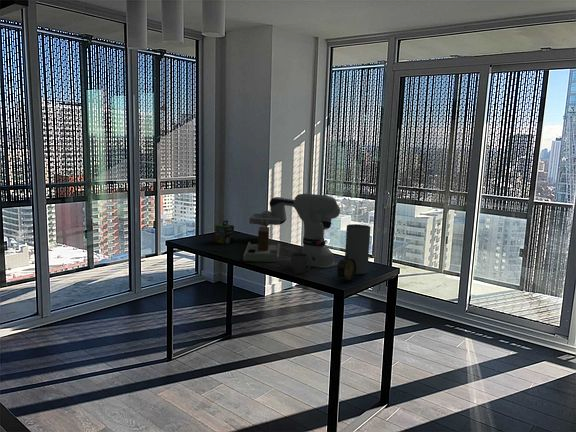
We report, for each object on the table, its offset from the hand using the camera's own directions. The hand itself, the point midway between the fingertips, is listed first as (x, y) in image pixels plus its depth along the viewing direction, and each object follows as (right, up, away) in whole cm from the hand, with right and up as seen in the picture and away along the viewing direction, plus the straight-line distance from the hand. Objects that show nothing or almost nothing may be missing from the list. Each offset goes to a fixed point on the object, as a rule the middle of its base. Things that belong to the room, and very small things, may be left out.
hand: (264, 222), depth 312 cm
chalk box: (-27, -13, +9) cm, 31 cm away
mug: (+22, -26, -55) cm, 65 cm away
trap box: (0, -18, -18) cm, 25 cm away
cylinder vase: (+52, -26, -50) cm, 76 cm away
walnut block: (0, -15, -9) cm, 18 cm away
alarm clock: (+44, -29, -67) cm, 86 cm away
